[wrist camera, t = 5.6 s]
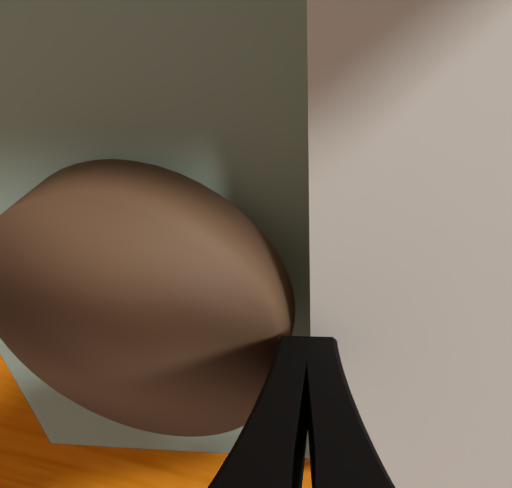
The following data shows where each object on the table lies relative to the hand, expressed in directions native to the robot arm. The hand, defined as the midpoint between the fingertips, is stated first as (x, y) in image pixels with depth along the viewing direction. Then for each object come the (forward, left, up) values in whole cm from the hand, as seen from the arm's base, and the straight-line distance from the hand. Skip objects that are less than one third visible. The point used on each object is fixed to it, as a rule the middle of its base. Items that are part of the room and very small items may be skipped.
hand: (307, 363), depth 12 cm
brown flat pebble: (0, +5, -3) cm, 6 cm away
